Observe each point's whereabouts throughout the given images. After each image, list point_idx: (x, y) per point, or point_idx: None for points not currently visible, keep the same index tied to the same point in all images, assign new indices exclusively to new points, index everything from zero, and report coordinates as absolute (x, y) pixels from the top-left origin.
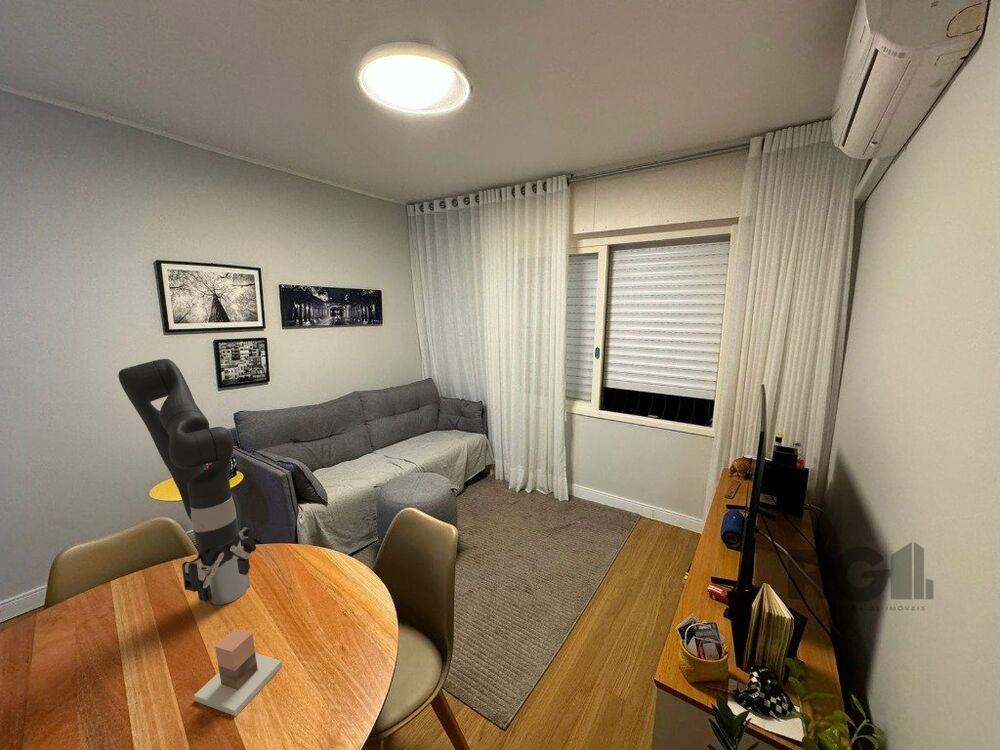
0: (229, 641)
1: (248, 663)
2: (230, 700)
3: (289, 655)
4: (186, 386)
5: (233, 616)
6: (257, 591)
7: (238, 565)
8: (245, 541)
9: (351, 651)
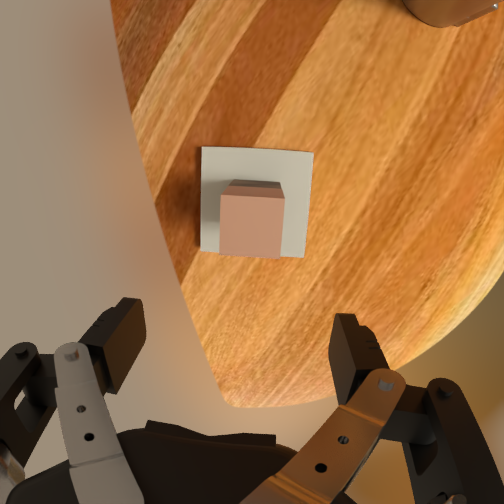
0: (243, 220)
1: None
2: (212, 227)
3: (327, 247)
4: None
5: (387, 46)
6: (452, 51)
7: (345, 346)
8: (432, 475)
9: None
